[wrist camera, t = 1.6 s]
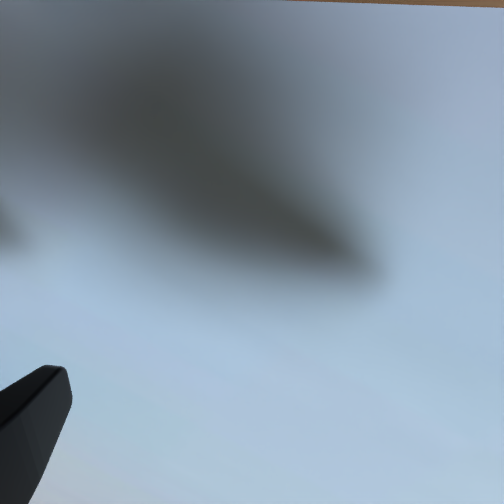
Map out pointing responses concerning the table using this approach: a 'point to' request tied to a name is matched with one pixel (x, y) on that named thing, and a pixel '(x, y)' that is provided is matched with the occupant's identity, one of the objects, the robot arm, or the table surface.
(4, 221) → the table surface
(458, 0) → the t block
